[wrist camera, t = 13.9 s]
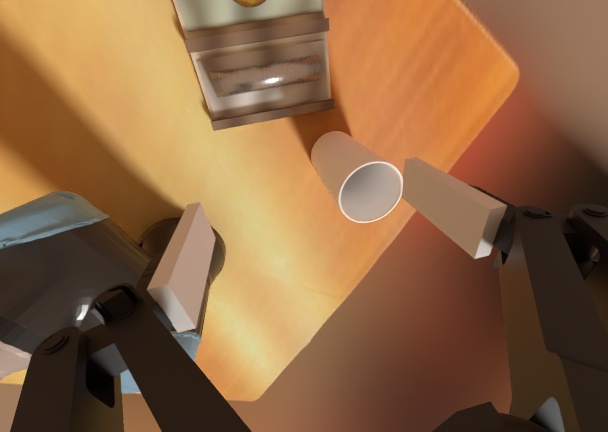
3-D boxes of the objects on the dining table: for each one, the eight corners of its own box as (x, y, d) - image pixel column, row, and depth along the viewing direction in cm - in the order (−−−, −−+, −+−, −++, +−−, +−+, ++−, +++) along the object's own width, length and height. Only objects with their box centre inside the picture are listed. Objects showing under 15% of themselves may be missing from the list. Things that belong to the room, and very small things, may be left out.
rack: (216, 127, 37) (213, 130, 35) (154, -64, 26) (145, -76, 24) (329, 106, 38) (334, 108, 36) (315, -83, 28) (321, -96, 25)
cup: (308, 135, 40) (336, 168, 26) (355, 126, 41) (406, 154, 27) (313, 180, 44) (340, 229, 31) (356, 172, 45) (400, 215, 32)
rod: (220, 100, 33) (215, 94, 30) (214, 77, 33) (208, 68, 30) (318, 83, 34) (322, 75, 32) (314, 60, 34) (318, 50, 31)
